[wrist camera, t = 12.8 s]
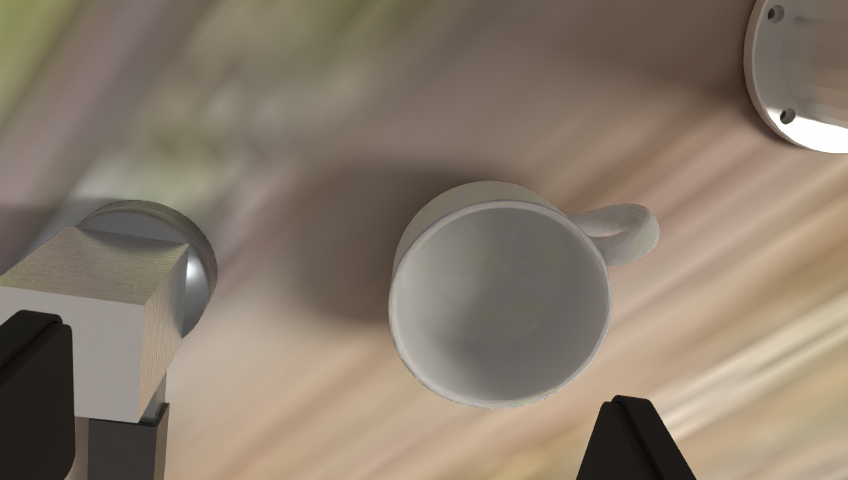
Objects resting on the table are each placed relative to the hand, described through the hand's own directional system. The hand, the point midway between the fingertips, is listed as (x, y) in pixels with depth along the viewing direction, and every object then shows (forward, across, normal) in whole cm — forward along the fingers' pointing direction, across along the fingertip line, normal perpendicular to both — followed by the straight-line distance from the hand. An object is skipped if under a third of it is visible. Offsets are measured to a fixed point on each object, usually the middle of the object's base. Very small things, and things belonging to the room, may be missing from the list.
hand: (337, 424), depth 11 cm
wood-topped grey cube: (+21, +12, +10) cm, 27 cm away
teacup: (+25, -8, +5) cm, 27 cm away
